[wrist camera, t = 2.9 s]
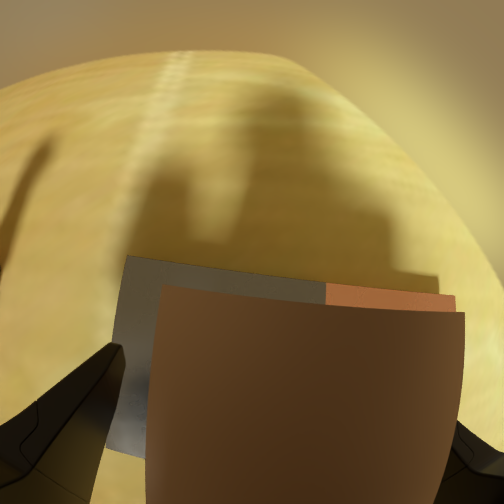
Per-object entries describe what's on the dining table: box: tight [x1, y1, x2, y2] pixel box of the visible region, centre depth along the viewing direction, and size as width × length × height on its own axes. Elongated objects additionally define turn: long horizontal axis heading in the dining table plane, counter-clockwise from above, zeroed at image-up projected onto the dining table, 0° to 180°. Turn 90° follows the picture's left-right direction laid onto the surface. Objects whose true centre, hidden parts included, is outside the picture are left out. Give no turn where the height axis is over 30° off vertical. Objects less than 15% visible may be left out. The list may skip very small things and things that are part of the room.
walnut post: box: [145, 284, 465, 504], centre depth 9 cm, size 4×4×13 cm
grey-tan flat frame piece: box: [106, 255, 456, 459], centre depth 14 cm, size 22×11×2 cm, turn 84°
